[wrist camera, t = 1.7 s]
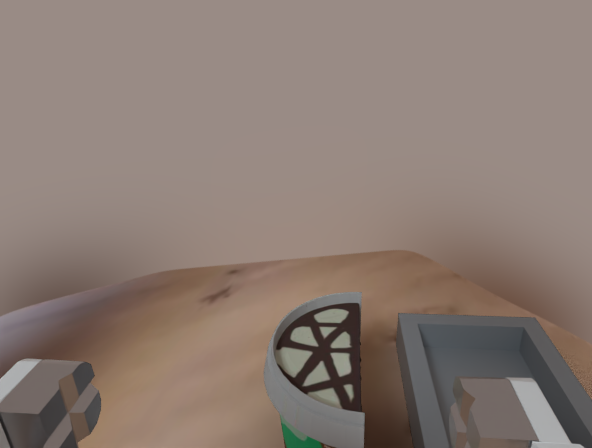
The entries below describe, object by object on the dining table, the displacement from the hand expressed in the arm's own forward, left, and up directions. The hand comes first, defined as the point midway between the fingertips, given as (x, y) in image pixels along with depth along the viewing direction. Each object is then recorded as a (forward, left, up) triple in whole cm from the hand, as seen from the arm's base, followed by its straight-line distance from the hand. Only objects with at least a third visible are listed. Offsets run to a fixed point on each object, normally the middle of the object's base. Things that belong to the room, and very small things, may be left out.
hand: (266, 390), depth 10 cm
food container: (0, +15, -20) cm, 25 cm away
